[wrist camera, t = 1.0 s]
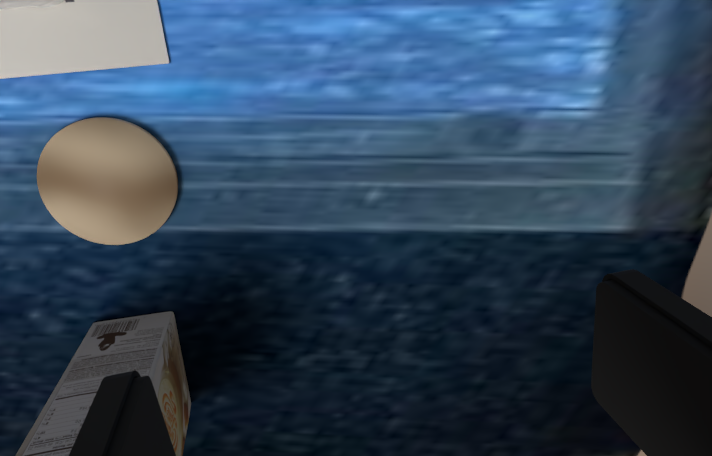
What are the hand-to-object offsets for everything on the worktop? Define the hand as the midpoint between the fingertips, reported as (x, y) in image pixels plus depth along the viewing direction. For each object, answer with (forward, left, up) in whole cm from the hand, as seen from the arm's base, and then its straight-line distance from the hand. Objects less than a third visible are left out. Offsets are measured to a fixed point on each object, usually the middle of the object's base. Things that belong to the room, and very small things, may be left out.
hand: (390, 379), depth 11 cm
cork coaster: (+2, -13, -29) cm, 32 cm away
